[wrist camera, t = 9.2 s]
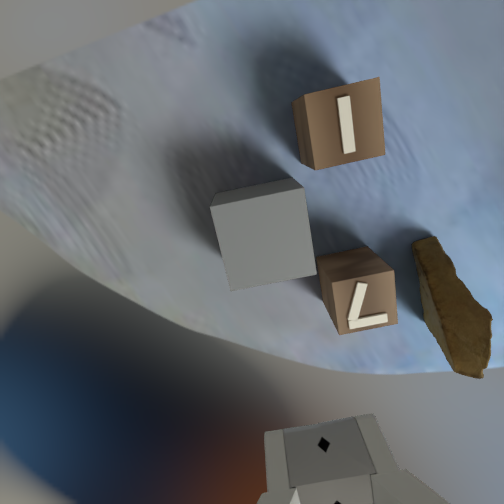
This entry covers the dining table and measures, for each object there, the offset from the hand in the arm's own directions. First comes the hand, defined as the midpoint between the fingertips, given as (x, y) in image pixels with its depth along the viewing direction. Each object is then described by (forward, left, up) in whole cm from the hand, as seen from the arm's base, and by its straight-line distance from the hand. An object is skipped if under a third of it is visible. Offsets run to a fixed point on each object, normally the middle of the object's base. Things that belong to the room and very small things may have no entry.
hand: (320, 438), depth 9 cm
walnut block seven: (-7, +7, -23) cm, 25 cm away
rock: (-16, +10, -24) cm, 30 cm away
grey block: (0, 0, -23) cm, 23 cm away
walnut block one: (-7, -7, -23) cm, 25 cm away
